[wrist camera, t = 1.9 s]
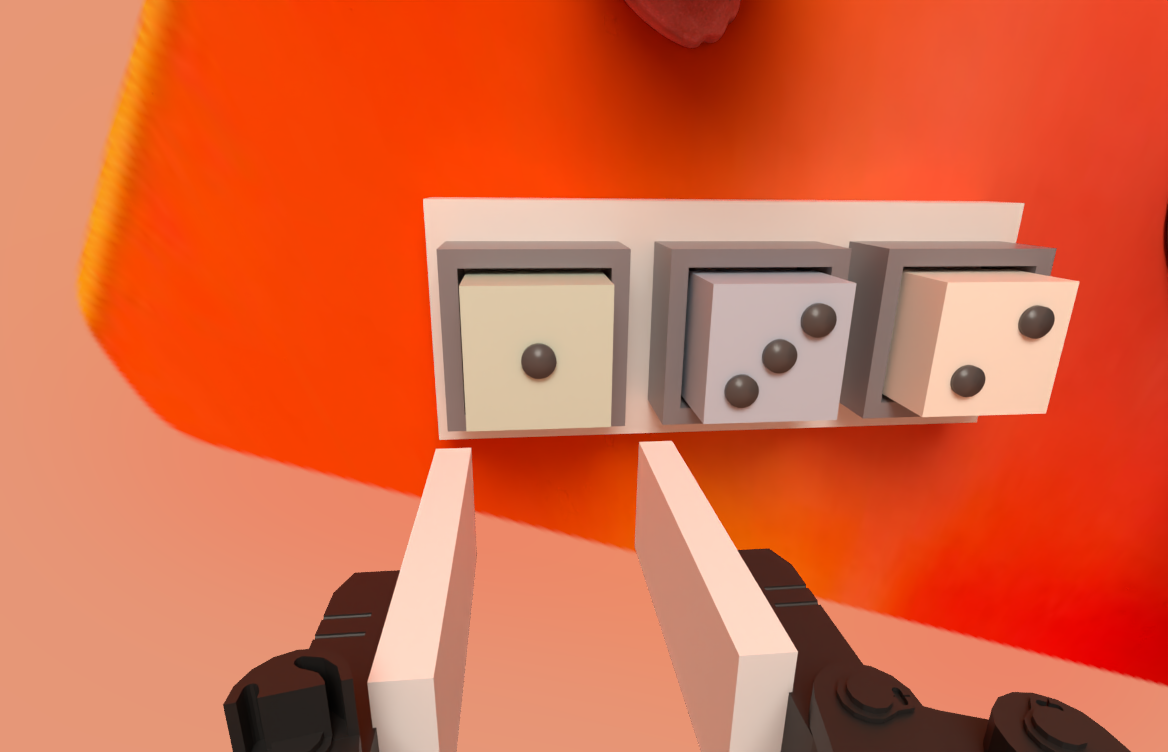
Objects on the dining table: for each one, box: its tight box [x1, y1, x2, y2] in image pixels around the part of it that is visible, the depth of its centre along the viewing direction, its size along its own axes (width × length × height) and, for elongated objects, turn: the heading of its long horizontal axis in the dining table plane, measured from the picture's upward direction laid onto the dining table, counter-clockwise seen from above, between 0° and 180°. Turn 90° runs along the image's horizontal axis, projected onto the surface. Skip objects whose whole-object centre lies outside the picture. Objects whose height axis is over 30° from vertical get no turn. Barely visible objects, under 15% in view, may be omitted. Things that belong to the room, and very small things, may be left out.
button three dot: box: [681, 270, 856, 424], centre depth 27 cm, size 6×6×4 cm
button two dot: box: [882, 269, 1079, 417], centre depth 29 cm, size 6×6×4 cm
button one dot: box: [459, 271, 614, 432], centre depth 26 cm, size 6×6×4 cm
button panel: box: [423, 197, 1056, 440], centre depth 31 cm, size 30×12×6 cm, turn 90°
